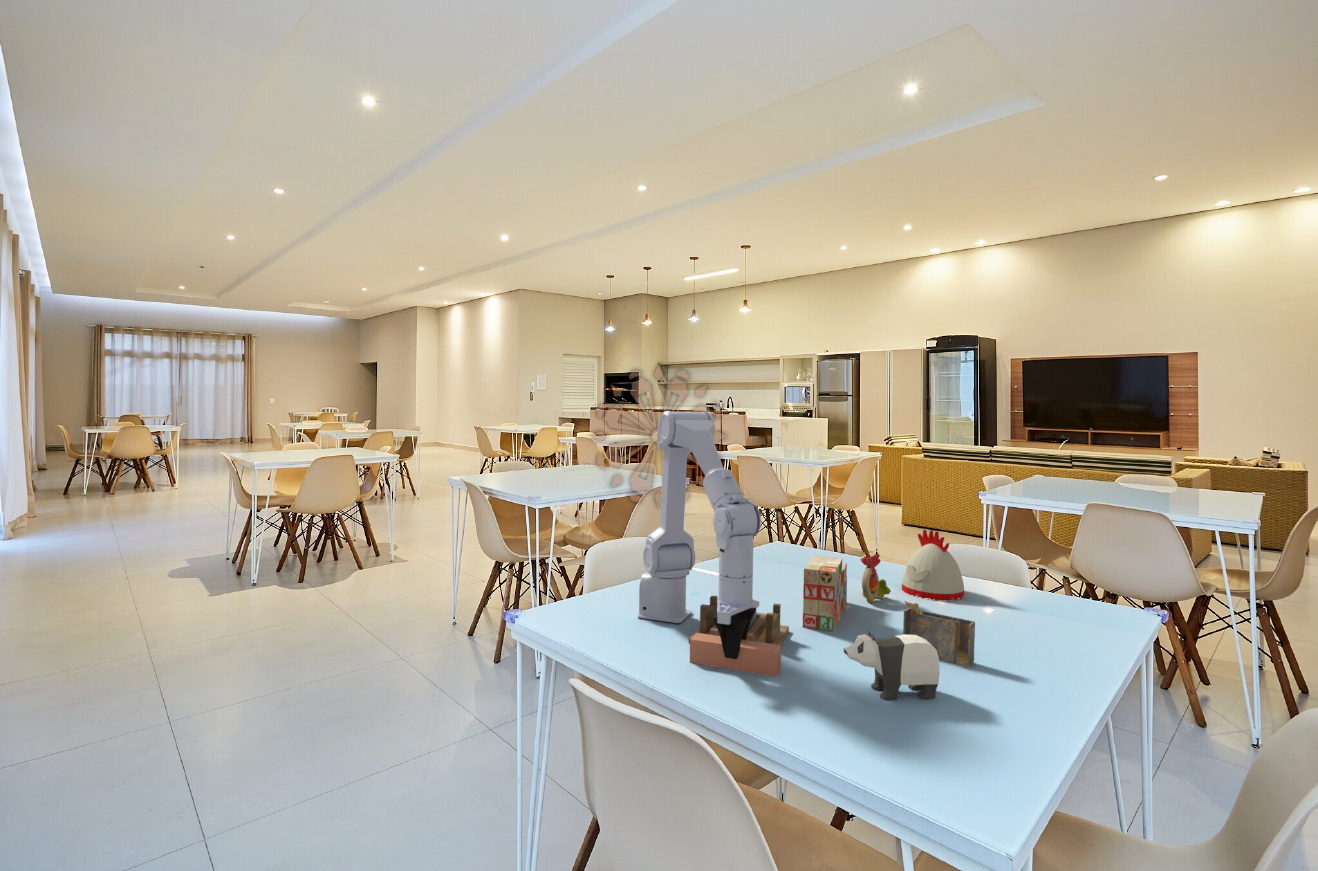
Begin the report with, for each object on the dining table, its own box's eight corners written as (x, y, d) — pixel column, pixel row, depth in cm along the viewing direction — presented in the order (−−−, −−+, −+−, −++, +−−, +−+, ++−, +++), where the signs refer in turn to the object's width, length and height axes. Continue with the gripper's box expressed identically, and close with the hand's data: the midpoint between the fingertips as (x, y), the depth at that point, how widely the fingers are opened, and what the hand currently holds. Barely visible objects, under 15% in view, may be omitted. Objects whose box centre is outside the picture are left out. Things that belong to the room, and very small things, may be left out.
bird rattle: (884, 614, 143) (893, 589, 150) (879, 573, 139) (889, 550, 146) (856, 609, 146) (866, 585, 153) (851, 569, 142) (862, 547, 149)
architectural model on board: (901, 653, 115) (903, 600, 115) (907, 648, 118) (909, 596, 117) (968, 670, 108) (970, 613, 107) (973, 665, 110) (975, 609, 110)
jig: (688, 643, 118) (689, 610, 118) (710, 620, 131) (711, 590, 131) (774, 656, 112) (774, 621, 112) (788, 631, 125) (789, 600, 125)
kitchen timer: (926, 582, 163) (927, 524, 163) (976, 595, 151) (978, 533, 151) (889, 589, 156) (891, 528, 156) (939, 604, 144) (941, 538, 144)
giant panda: (927, 684, 101) (929, 625, 101) (945, 700, 95) (946, 637, 95) (837, 685, 100) (838, 625, 100) (849, 701, 95) (851, 638, 94)
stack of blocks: (819, 599, 147) (820, 546, 146) (847, 602, 145) (848, 549, 144) (802, 628, 127) (803, 567, 127) (834, 632, 125) (835, 570, 124)
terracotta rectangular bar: (689, 662, 109) (689, 639, 109) (696, 654, 112) (696, 632, 112) (776, 676, 103) (776, 652, 103) (780, 668, 107) (781, 645, 106)
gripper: (748, 587, 99) (747, 673, 100) (768, 566, 112) (767, 642, 113) (705, 582, 102) (704, 666, 102) (729, 562, 115) (728, 636, 116)
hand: (734, 653), depth 108 cm, fingers closed on terracotta rectangular bar, 3 cm apart
